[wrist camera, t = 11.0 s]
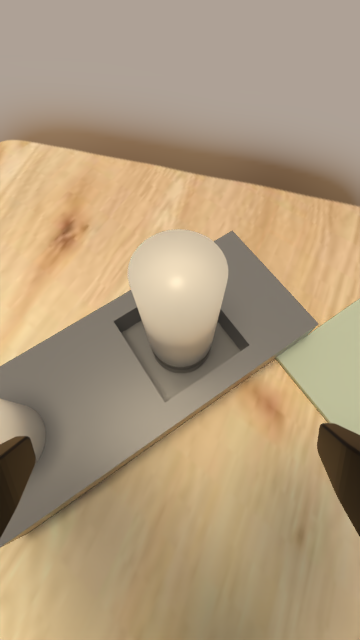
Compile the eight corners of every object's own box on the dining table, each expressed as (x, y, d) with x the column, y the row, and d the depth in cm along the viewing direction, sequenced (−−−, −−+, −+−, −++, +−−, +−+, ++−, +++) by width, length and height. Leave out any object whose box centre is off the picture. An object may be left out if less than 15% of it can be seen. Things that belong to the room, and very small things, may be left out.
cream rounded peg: (221, 335, 25) (246, 256, 14) (190, 385, 23) (194, 335, 13) (172, 307, 26) (164, 215, 15) (140, 353, 24) (107, 284, 14)
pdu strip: (304, 337, 25) (356, 285, 17) (26, 534, 20) (-78, 586, 12) (228, 252, 28) (242, 175, 20) (-25, 403, 24) (-131, 380, 16)
